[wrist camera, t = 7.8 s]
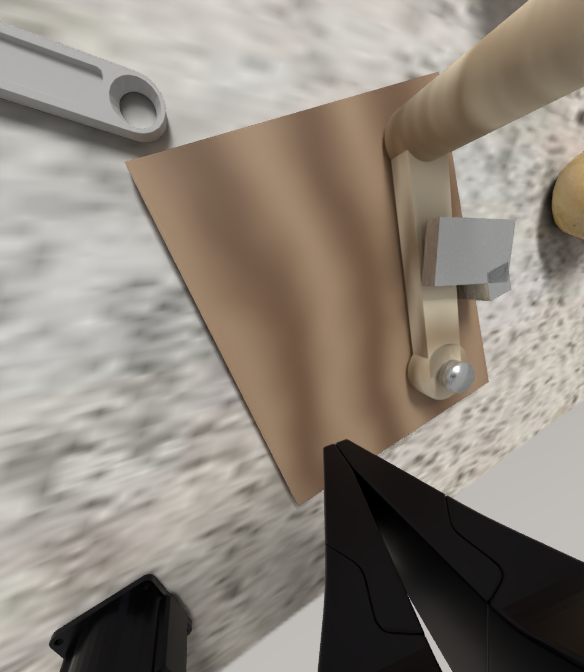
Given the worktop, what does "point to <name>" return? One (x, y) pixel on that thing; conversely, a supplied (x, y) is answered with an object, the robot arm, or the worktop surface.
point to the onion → (570, 198)
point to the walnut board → (304, 274)
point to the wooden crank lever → (460, 129)
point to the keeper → (467, 270)
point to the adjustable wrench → (73, 84)
